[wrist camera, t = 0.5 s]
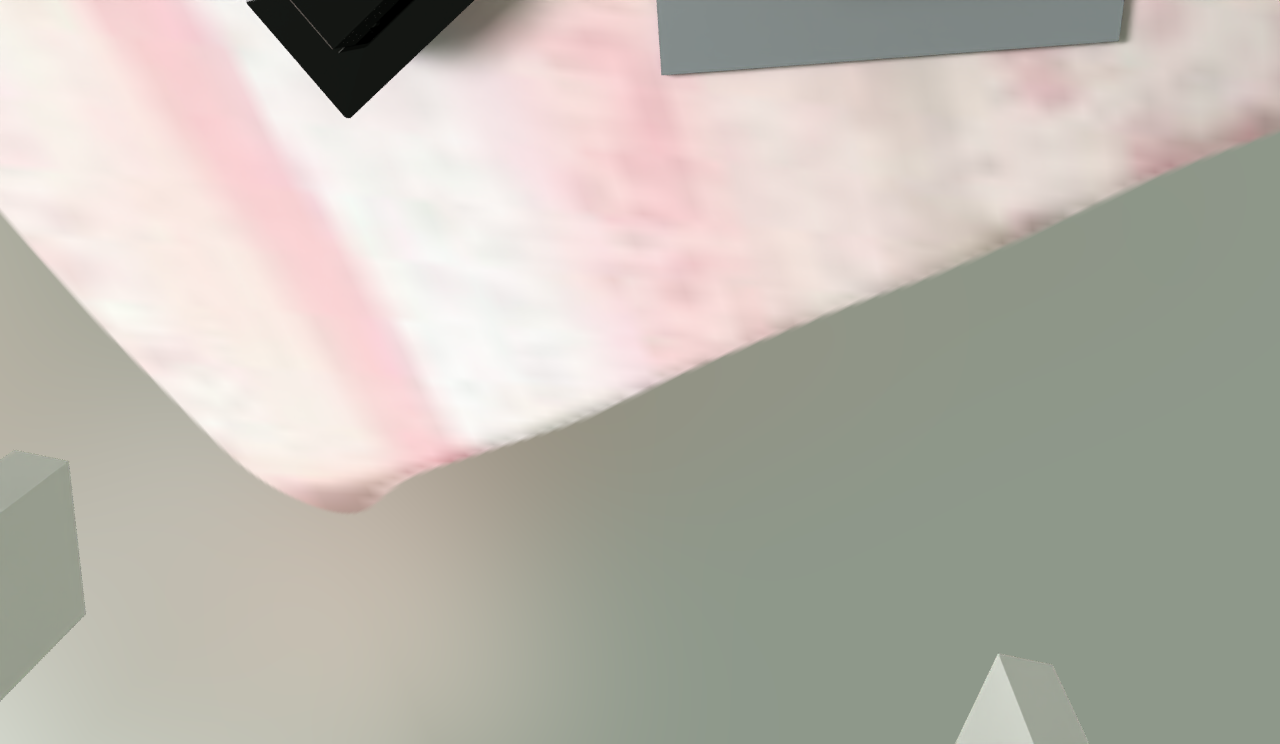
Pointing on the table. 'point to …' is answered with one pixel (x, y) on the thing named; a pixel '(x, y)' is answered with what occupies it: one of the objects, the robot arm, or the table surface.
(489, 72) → the table surface
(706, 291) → the table surface
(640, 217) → the table surface
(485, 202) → the table surface
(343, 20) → the black plastic holder
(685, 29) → the mat
